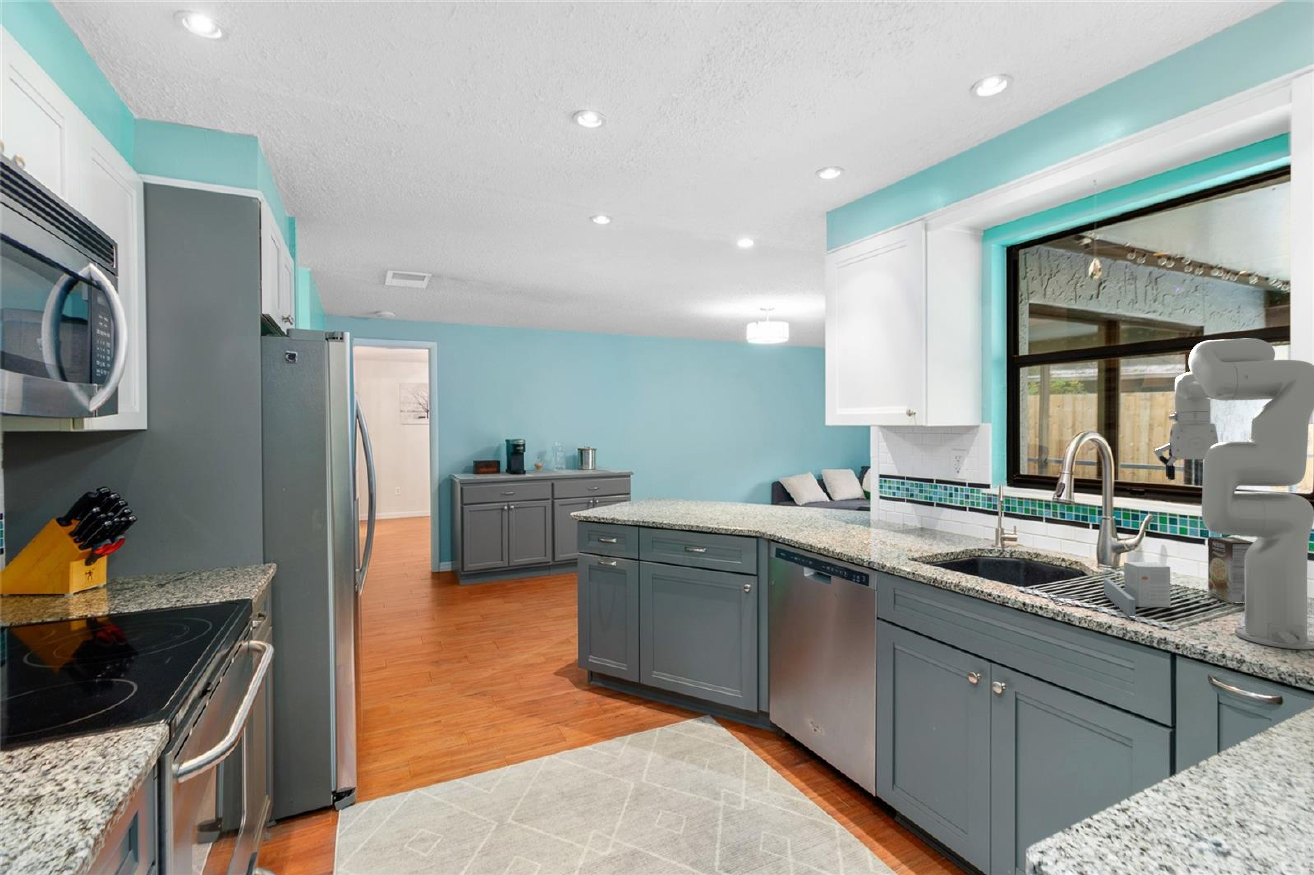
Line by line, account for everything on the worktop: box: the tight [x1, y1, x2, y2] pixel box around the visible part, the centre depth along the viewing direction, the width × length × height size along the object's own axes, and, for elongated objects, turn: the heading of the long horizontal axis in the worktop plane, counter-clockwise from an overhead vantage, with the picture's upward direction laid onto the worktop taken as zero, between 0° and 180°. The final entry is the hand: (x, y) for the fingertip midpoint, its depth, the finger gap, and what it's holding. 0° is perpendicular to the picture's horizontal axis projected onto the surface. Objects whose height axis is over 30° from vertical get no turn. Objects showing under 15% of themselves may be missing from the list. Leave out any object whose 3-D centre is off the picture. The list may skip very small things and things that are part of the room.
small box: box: [1123, 561, 1172, 608], centre depth 161 cm, size 8×6×10 cm
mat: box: [1051, 594, 1093, 607], centre depth 164 cm, size 11×9×1 cm
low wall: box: [1103, 577, 1136, 617], centre depth 160 cm, size 24×1×4 cm, turn 156°
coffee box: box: [1207, 536, 1255, 604], centre depth 165 cm, size 9×6×16 cm
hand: (1192, 480), depth 174 cm, fingers open, 9 cm apart
